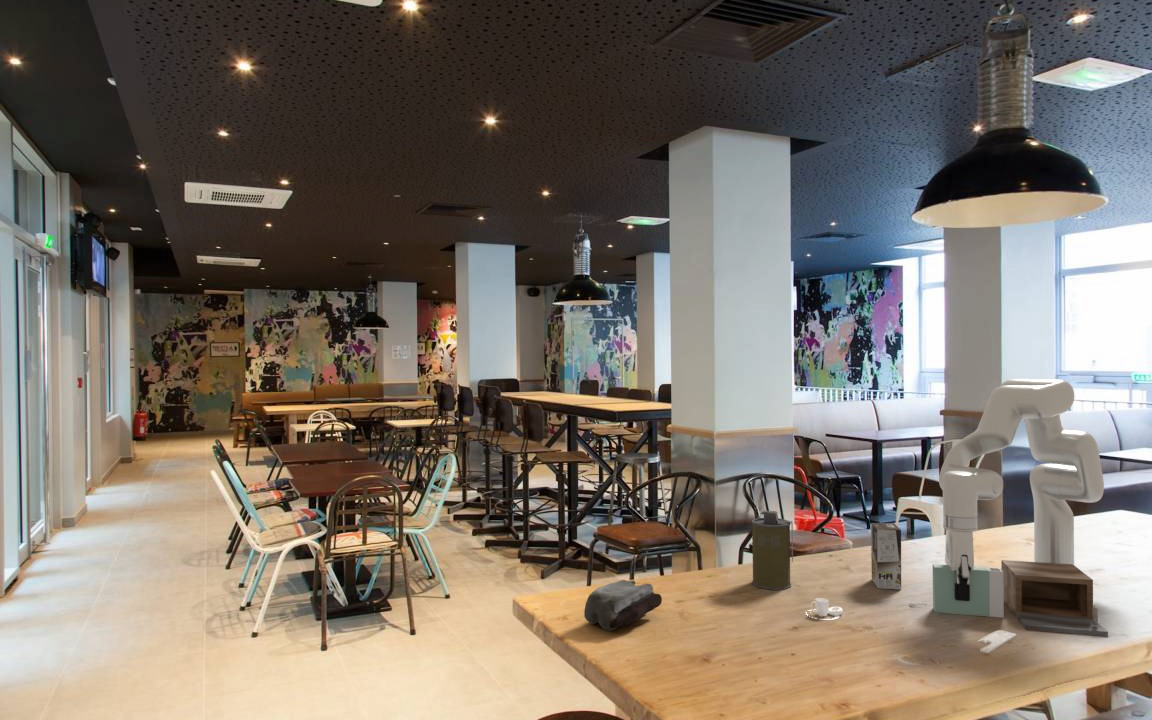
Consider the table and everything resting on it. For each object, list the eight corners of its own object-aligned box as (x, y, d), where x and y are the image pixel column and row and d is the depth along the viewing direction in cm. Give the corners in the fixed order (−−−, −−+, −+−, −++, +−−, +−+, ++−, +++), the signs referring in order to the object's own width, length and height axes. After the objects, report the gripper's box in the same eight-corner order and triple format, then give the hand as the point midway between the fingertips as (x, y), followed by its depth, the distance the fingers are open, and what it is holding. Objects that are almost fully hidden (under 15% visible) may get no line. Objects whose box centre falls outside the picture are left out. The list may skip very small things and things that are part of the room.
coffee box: (902, 590, 204) (901, 529, 204) (876, 588, 206) (876, 529, 206) (895, 580, 213) (894, 522, 213) (870, 579, 215) (870, 521, 215)
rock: (619, 640, 170) (619, 602, 170) (577, 629, 177) (576, 593, 177) (664, 617, 185) (664, 582, 185) (624, 608, 193) (623, 574, 193)
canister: (749, 587, 208) (748, 514, 208) (755, 577, 217) (754, 507, 217) (790, 592, 204) (789, 517, 204) (794, 581, 213) (794, 509, 213)
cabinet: (1001, 599, 196) (1001, 560, 196) (1073, 604, 191) (1072, 564, 191) (1026, 629, 174) (1026, 585, 174) (1108, 636, 169) (1107, 591, 169)
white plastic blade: (963, 648, 164) (963, 643, 164) (992, 632, 174) (992, 627, 174) (988, 654, 161) (988, 649, 161) (1016, 638, 170) (1016, 633, 170)
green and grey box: (933, 608, 189) (932, 564, 189) (1000, 613, 185) (1000, 568, 185) (935, 612, 186) (934, 567, 186) (1003, 617, 182) (1003, 571, 182)
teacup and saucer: (843, 613, 188) (842, 596, 188) (843, 624, 180) (843, 606, 180) (805, 609, 191) (805, 593, 191) (804, 620, 183) (804, 603, 183)
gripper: (937, 515, 195) (938, 587, 195) (949, 528, 179) (949, 607, 179) (970, 516, 193) (970, 589, 193) (984, 530, 177) (985, 609, 177)
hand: (960, 597), depth 186 cm, fingers closed on green and grey box, 3 cm apart
